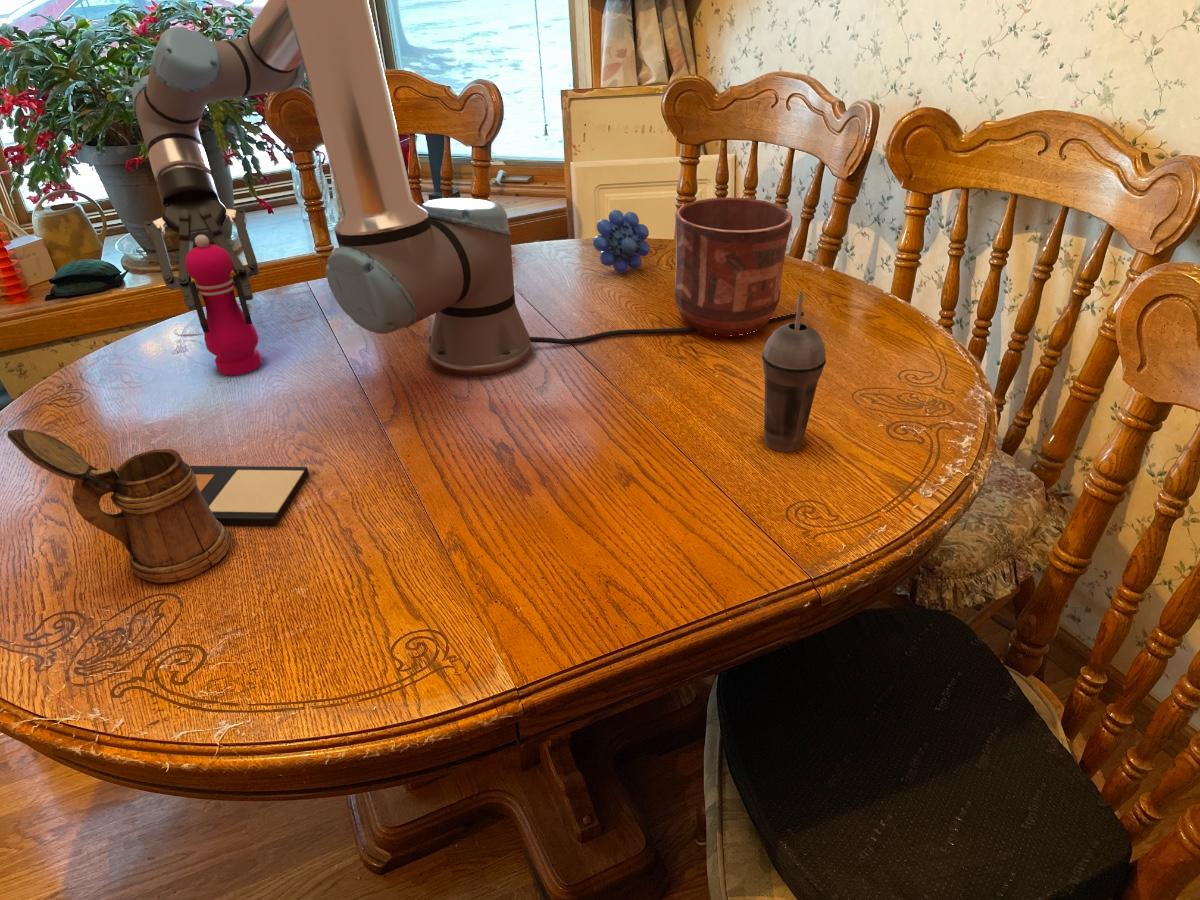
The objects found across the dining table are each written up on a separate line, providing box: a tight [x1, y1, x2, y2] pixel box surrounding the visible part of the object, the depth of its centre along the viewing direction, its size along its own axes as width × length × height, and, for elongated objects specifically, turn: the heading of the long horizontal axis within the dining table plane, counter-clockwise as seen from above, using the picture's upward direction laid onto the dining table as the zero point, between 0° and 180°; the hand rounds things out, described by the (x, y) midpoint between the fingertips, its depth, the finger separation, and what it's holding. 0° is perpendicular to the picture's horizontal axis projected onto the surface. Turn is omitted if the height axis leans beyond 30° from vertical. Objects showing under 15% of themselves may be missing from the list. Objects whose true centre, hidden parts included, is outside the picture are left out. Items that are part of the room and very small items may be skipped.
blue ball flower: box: [592, 209, 651, 274], centre depth 144 cm, size 12×7×12 cm, turn 116°
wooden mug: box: [7, 428, 231, 585], centre depth 75 cm, size 9×14×18 cm, turn 122°
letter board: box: [189, 465, 310, 527], centre depth 88 cm, size 15×10×1 cm, turn 87°
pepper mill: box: [185, 235, 263, 376], centre depth 112 cm, size 7×7×20 cm
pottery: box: [674, 196, 793, 340], centre depth 122 cm, size 18×18×18 cm
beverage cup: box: [761, 290, 827, 453], centre depth 91 cm, size 7×7×20 cm
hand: (227, 324), depth 110 cm, fingers closed on pepper mill, 5 cm apart
